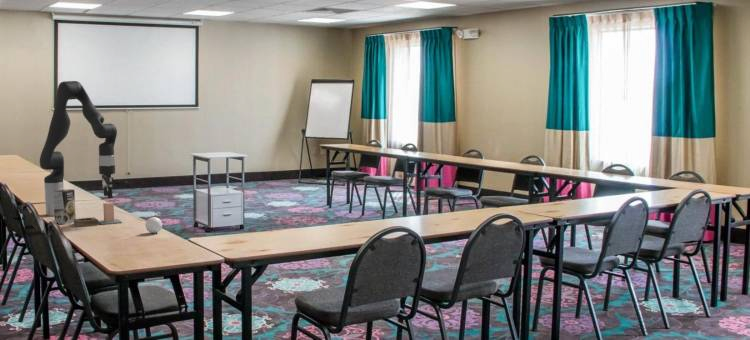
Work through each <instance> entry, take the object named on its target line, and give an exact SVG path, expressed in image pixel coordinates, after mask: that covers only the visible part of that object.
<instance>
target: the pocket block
mask: <svg viewBox="0 0 750 340" xmlns="http://www.w3.org/2000/svg"><path fill="white" fill-rule="evenodd" d="M98 221H99V219H97V218H96V217H94V216H93V217H82V218H76V219H74V222H73V225H74V226H76V227H77V228H81V227H92V226H99V223H98Z"/></svg>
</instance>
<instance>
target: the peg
mask: <svg viewBox="0 0 750 340" xmlns="http://www.w3.org/2000/svg"><path fill="white" fill-rule="evenodd" d="M102 204H103V205H102V206H103V220H104V221H105V222H114V219H115V208H114V207H115V206H114V205H115V204H114V202H103V203H102Z"/></svg>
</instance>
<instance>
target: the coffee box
mask: <svg viewBox="0 0 750 340" xmlns="http://www.w3.org/2000/svg"><path fill="white" fill-rule="evenodd" d="M53 195H54V216H53V219H54V222H55V221H56V222H57V223H58V224H57V225H59V224H60V225H67V224H70V223H74V219H77V218H76V217H77V216H76V198H75V197H76V195H75V189H64V190H59V191H54V192H53Z"/></svg>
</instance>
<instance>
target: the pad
mask: <svg viewBox="0 0 750 340" xmlns="http://www.w3.org/2000/svg"><path fill="white" fill-rule="evenodd" d="M114 224H115V225H116V224H123V221H121V220H119V219H118V218H114V222H105V221H104V219H103V220H98V225H101V226H106V225H114Z"/></svg>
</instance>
